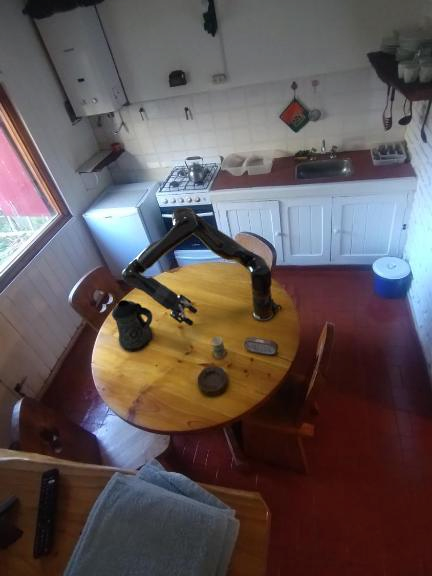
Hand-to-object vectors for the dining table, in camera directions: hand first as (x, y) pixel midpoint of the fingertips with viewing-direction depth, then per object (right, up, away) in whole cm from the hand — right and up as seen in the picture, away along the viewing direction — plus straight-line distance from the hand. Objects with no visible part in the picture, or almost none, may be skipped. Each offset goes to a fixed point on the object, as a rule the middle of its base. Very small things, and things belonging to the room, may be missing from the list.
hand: (194, 317), depth 150 cm
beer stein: (-29, -13, +24) cm, 40 cm away
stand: (+8, -27, -4) cm, 29 cm away
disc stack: (+11, -17, +8) cm, 22 cm away
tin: (+30, -16, +5) cm, 34 cm away
